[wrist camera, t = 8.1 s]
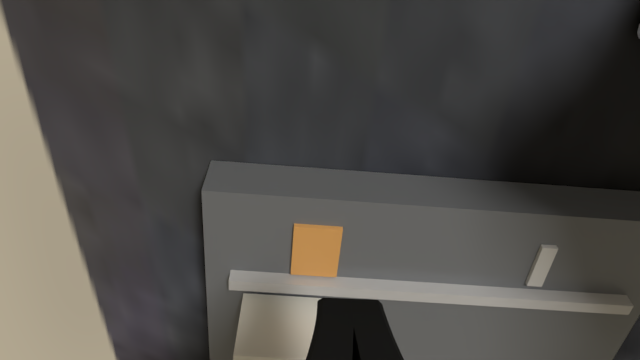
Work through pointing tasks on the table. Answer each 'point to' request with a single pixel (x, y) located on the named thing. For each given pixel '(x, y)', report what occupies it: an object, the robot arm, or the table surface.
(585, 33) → the table surface
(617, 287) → the panel
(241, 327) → the block
